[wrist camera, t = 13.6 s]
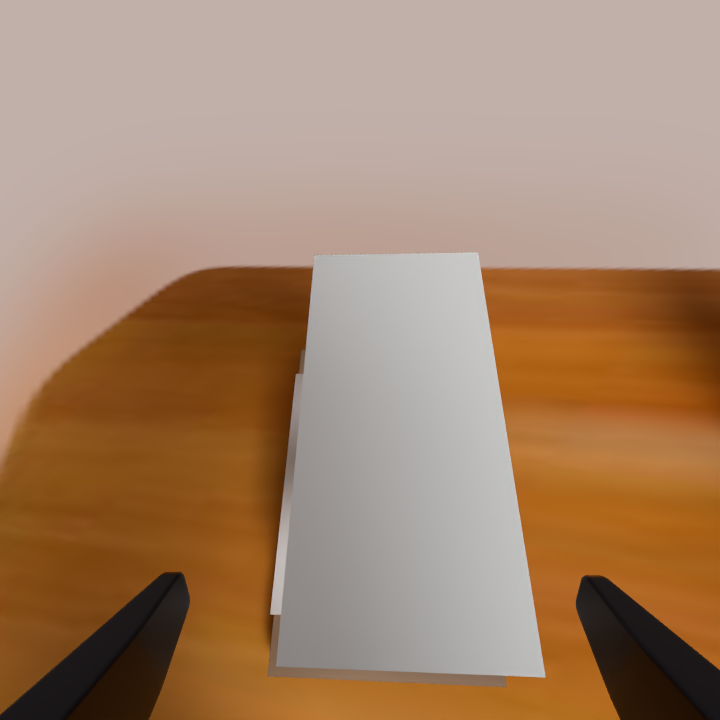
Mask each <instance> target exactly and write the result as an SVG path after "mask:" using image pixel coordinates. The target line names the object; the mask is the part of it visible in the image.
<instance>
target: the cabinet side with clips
mask: <svg viewBox="0 0 720 720" xmlns="http://www.w3.org/2000/svg"><path fill="white" fill-rule="evenodd" d="M305 351H306V349H301V358H300V367H299V374H296V378H295V387H294V396H293V406H292V415H291V424H290V434H289V443H288V452H287V462H286V471H285V481H284V490H283V499H282V509H281V518H280V527H279V537H278V546H277V555H276V565H275V574H274V583H273V593H272V602H271V611H270V614H273V615H274V619H273V629H272V639H271V649H270V658H269V668H268V676H274V677H296V678H318V679H339V680H361V681H383V682H405V683H427V684H449V685H471V686H492V687H507V685H506V677H505V676H499V675H474V674H449V673H424V672H399V671H374V670H349V669H324V668H299V667H276V661H277V651H278V640H279V629H280V619H281V608H282V597H283V587H284V576H285V565H286V555H287V544H288V533H289V522H290V512H291V501H292V490H293V480H294V469H295V458H296V448H297V437H298V426H299V416H300V405H301V394H302V384H303V373H304V362H305Z"/></svg>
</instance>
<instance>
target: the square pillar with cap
mask: <svg viewBox="0 0 720 720" xmlns="http://www.w3.org/2000/svg"><path fill="white" fill-rule="evenodd" d="M276 667H299V668H324V669H349V670H374V671H399V672H424V673H449V674H474V675H499V676H524V677H545V671H544V665H543V659H542V652H541V646H540V640H539V634H538V627H537V621H536V615H535V608H534V602H533V596H532V590H531V583H530V577H529V571H528V564H527V558H526V552H525V546H524V539H523V533H522V527H521V520H520V514H519V508H518V502H517V495H516V489H515V483H514V477H513V470H512V464H511V458H510V451H509V445H508V439H507V433H506V426H505V420H504V414H503V407H502V401H501V395H500V389H499V382H498V376H497V370H496V364H495V357H494V351H493V345H492V338H491V332H490V326H489V320H488V313H487V307H486V301H485V294H484V288H483V282H482V276H481V269H480V263H479V257H478V253H428V254H427V253H424V254H359V255H314V266H313V277H312V287H311V298H310V309H309V319H308V330H307V341H306V351H305V362H304V373H303V384H302V394H301V405H300V416H299V426H298V437H297V448H296V458H295V469H294V480H293V490H292V501H291V512H290V522H289V533H288V544H287V555H286V565H285V576H284V587H283V597H282V608H281V619H280V629H279V640H278V651H277V661H276Z"/></svg>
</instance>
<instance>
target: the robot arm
mask: <svg viewBox="0 0 720 720" xmlns="http://www.w3.org/2000/svg"><path fill="white" fill-rule="evenodd" d="M189 604H190V595H189V592H188V588H187V584H186V581H185V577H184V575H183V574H182V573H181V572H165V573H163V574H161V575H160V576H159V577H158V578H156V579H155V580H154V581H153V582H152V583H151V584H150V585H148V586H147V587H146V588H145V589H144V590H143V591H142V592H140V593H139V594H138V595H137V596H136V597H135V598H133V599H132V600H131V601H130V602H129V603H128V604H127V605H125V606H124V607H123V608H122V609H121V610H120V611H119V612H117V613H116V614H115V615H114V616H113V617H112V618H111V619H109V620H108V621H107V622H106V623H105V624H104V625H103V626H101V627H100V628H99V629H98V630H97V631H96V632H95V633H93V634H92V635H91V636H90V637H89V638H88V639H87V640H85V641H84V642H83V643H82V644H81V645H80V646H78V647H77V648H76V649H75V650H74V651H73V652H72V653H70V654H69V655H68V656H67V657H66V658H65V659H64V660H62V661H61V662H60V663H59V664H58V665H57V666H56V667H54V668H53V669H52V670H51V671H50V672H49V673H48V674H46V675H45V676H44V677H43V678H42V679H41V680H40V681H38V682H37V683H36V684H35V685H34V686H33V687H32V688H30V689H29V690H28V691H27V692H26V693H25V694H23V695H22V696H21V697H20V698H19V699H18V700H17V701H15V702H14V703H13V704H12V705H11V706H10V707H9V708H7V709H6V710H5V711H4V712H3V713H2V714H1V715H0V720H149V718H150V715H151V713H152V711H153V708H154V706H155V704H156V701H157V699H158V696H159V694H160V691H161V688H162V686H163V683H164V680H165V677H166V674H167V671H168V668H169V665H170V662H171V659H172V656H173V653H174V650H175V647H176V644H177V641H178V638H179V635H180V632H181V629H182V626H183V623H184V620H185V617H186V614H187V612H188V608H189ZM576 608H577V612H578V615H579V618H580V620H581V623H582V626H583V628H584V631H585V633H586V636H587V639H588V641H589V644H590V646H591V649H592V652H593V654H594V657H595V659H596V662H597V665H598V667H599V670H600V672H601V675H602V678H603V680H604V683H605V685H606V688H607V690H608V693H609V695H610V698H611V700H612V702H613V705H614V707H615V709H616V711H617V713H618V715H619V718H620V720H720V670H719V669H718V668H716V667H715V666H714V665H713V664H712V663H710V662H709V661H708V660H707V659H705V658H704V657H703V656H702V655H700V654H699V653H698V652H697V651H696V650H694V649H693V648H692V647H691V646H689V645H688V644H687V643H686V642H685V641H683V640H682V639H681V638H680V637H678V636H677V635H676V634H675V633H674V632H672V631H671V630H670V629H669V628H667V627H666V626H665V625H664V624H663V623H661V622H660V621H659V620H658V619H656V618H655V617H654V616H653V615H651V614H650V613H649V612H648V611H647V610H645V609H644V608H643V607H642V606H640V605H639V604H638V603H637V602H636V601H634V600H633V599H632V598H631V597H629V596H628V595H627V594H626V593H625V592H623V591H622V590H621V589H620V588H618V587H617V586H616V585H615V584H613V583H612V582H611V581H610V580H609V579H607V578H605V577H604V576H600V575H585V576H584V577H582V579H581V583H580V587H579V590H578V594H577V598H576Z"/></svg>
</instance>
